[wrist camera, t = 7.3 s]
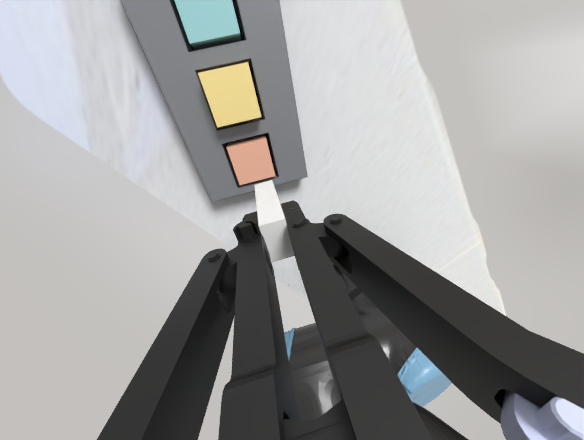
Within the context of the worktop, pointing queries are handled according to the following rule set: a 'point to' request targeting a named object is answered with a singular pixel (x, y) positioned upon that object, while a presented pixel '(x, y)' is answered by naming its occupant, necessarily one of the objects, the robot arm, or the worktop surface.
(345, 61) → the worktop surface
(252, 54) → the button panel
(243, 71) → the yellow button
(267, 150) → the terracotta button
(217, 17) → the teal button
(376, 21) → the worktop surface
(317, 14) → the worktop surface
